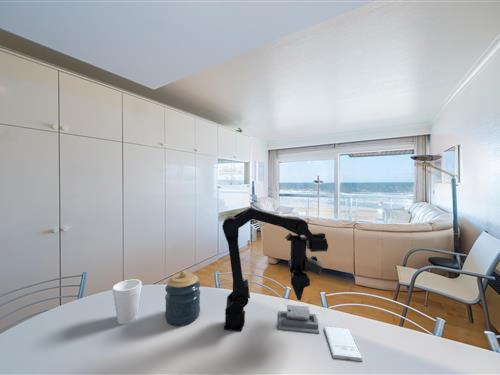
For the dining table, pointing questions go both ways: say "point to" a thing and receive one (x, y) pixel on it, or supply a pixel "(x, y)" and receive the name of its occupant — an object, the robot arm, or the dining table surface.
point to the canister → (182, 299)
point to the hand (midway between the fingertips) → (298, 293)
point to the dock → (298, 323)
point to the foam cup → (127, 300)
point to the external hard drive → (342, 344)
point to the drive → (297, 313)
